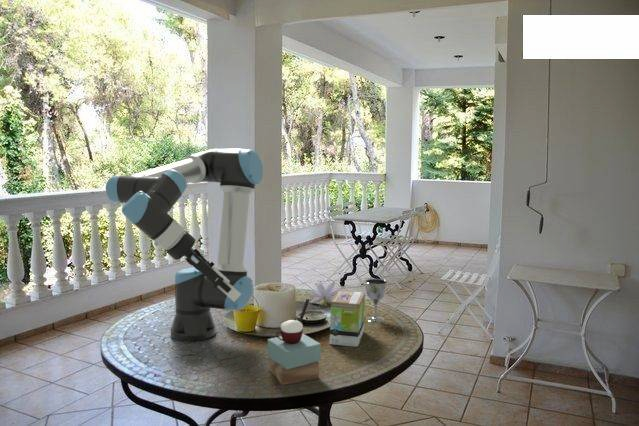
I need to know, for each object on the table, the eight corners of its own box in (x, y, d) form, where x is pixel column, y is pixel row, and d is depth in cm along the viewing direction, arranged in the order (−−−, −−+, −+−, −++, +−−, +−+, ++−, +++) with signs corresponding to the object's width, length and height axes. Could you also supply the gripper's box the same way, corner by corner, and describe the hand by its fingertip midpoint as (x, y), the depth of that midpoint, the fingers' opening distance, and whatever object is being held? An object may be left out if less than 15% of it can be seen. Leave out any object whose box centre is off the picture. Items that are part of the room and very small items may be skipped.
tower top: (267, 355, 147) (267, 339, 146) (300, 348, 153) (300, 331, 152) (286, 369, 138) (286, 351, 137) (320, 360, 144) (320, 343, 143)
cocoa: (276, 346, 142) (274, 305, 140) (278, 337, 148) (276, 297, 146) (310, 345, 141) (308, 304, 140) (311, 336, 148) (309, 297, 146)
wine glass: (389, 318, 195) (390, 280, 193) (380, 324, 188) (381, 285, 187) (370, 315, 199) (371, 277, 197) (361, 320, 193) (362, 281, 191)
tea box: (359, 347, 166) (360, 303, 164) (328, 344, 168) (329, 301, 166) (364, 331, 181) (365, 291, 179) (336, 329, 183) (337, 289, 181)
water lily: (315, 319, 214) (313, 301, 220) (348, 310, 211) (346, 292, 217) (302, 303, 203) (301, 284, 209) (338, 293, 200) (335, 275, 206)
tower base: (269, 370, 149) (269, 353, 148) (303, 364, 153) (304, 348, 153) (282, 386, 139) (282, 368, 138) (318, 379, 143) (319, 362, 143)
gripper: (160, 242, 144) (213, 288, 152) (170, 261, 121) (232, 315, 129) (179, 222, 146) (231, 270, 153) (192, 238, 123) (252, 293, 130)
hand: (231, 290), depth 141 cm, fingers open, 13 cm apart
